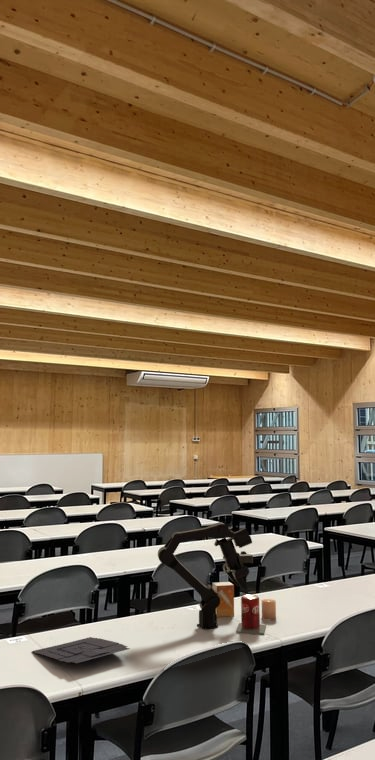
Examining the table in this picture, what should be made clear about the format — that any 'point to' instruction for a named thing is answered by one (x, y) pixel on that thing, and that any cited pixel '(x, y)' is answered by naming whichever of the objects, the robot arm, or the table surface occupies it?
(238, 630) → the coaster
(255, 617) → the soda can
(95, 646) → the dark grey flat square
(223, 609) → the small box
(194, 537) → the robot arm
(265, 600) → the orange-brown round cylinder
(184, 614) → the table surface
